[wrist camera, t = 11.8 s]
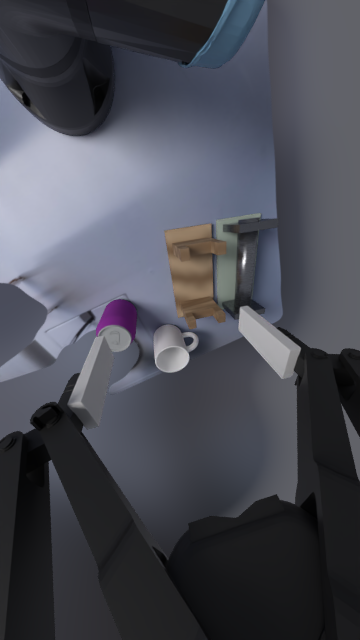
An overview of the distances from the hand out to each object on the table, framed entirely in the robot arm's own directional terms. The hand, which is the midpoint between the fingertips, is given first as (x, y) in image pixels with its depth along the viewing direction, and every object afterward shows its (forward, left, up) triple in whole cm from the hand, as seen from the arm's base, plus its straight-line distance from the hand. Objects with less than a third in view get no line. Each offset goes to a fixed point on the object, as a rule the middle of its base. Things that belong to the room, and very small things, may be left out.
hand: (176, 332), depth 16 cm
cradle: (+3, +8, -27) cm, 28 cm away
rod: (+3, +20, -26) cm, 33 cm away
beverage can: (+9, -11, -27) cm, 30 cm away
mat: (+3, +20, -27) cm, 33 cm away
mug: (+19, +1, -27) cm, 33 cm away
